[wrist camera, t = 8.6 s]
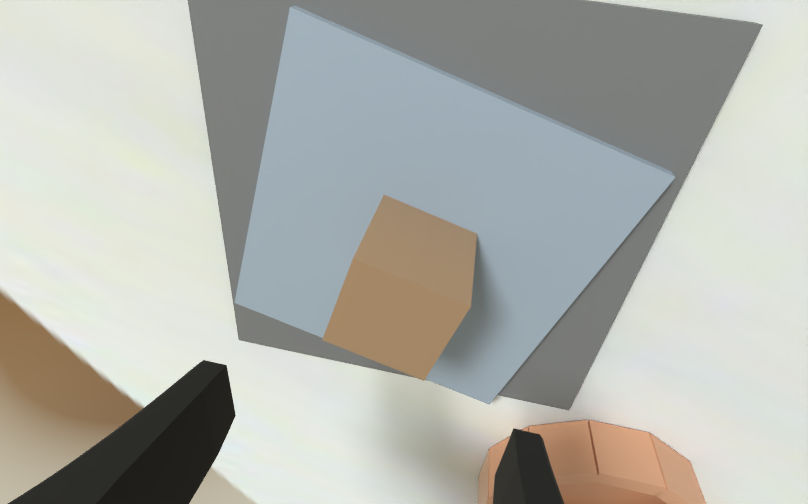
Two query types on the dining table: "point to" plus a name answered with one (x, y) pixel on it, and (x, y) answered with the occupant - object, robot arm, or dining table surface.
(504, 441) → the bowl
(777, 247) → the dining table surface
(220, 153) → the mat
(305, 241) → the cover
